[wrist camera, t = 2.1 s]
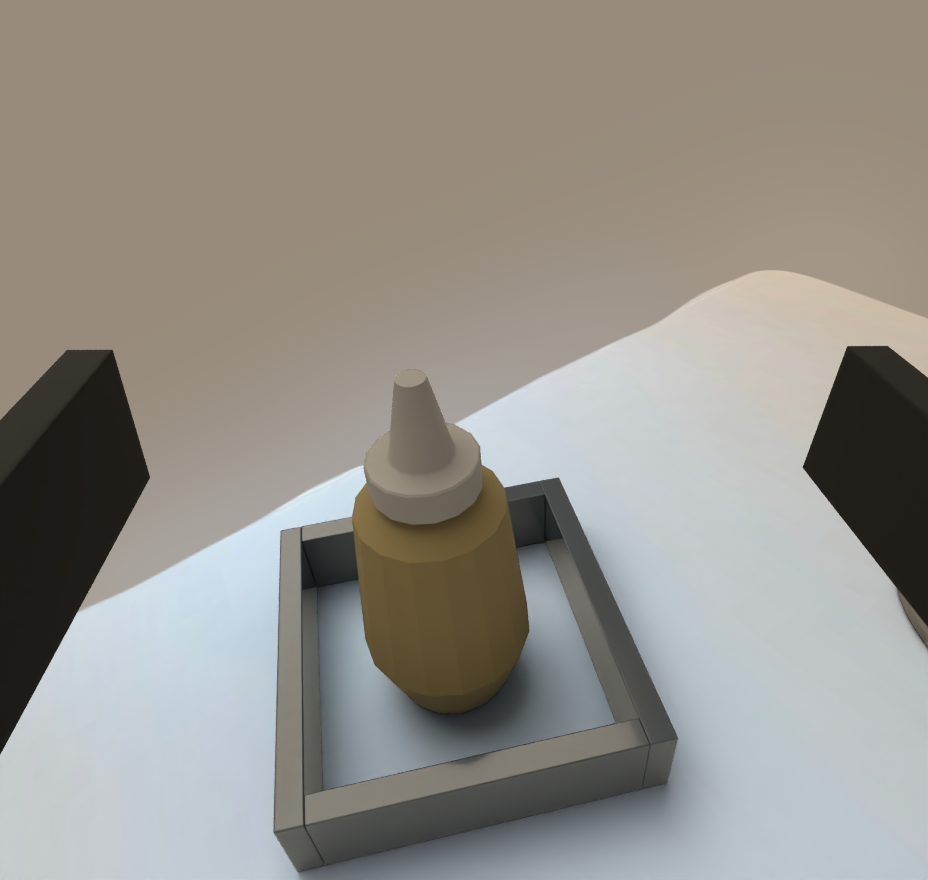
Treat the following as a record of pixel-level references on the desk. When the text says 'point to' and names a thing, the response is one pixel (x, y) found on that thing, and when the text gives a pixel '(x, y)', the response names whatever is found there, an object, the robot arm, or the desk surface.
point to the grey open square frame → (474, 778)
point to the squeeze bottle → (437, 559)
